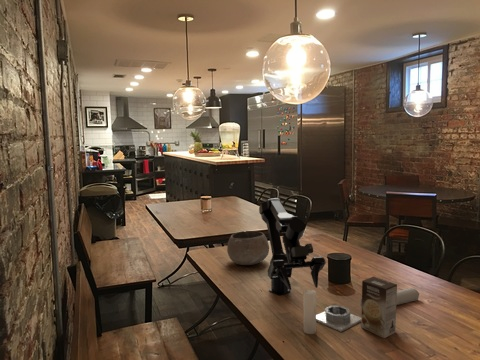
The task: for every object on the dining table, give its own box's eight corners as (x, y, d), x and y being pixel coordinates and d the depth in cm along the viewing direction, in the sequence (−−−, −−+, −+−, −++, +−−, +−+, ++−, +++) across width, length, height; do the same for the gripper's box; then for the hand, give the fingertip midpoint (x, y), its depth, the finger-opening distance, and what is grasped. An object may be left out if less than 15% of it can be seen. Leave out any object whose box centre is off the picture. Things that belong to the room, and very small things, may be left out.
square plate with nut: (312, 319, 136) (312, 309, 136) (334, 309, 144) (334, 300, 143) (341, 332, 127) (341, 322, 126) (362, 320, 134) (363, 311, 134)
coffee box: (360, 327, 130) (360, 280, 128) (372, 322, 133) (373, 275, 131) (384, 338, 122) (385, 288, 120) (396, 332, 126) (397, 283, 124)
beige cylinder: (300, 330, 128) (300, 292, 127) (309, 326, 131) (309, 288, 129) (310, 335, 125) (310, 295, 124) (318, 331, 128) (318, 292, 126)
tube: (409, 286, 154) (358, 297, 144) (420, 286, 149) (368, 297, 139) (412, 300, 153) (361, 312, 143) (423, 300, 148) (371, 313, 138)
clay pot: (237, 273, 184) (237, 241, 182) (221, 260, 203) (220, 231, 201) (277, 266, 192) (277, 235, 191) (258, 255, 211) (257, 227, 210)
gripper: (271, 237, 134) (281, 280, 124) (323, 233, 137) (337, 275, 127) (266, 253, 142) (274, 295, 132) (315, 249, 146) (327, 289, 136)
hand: (303, 288), depth 132 cm, fingers open, 9 cm apart
